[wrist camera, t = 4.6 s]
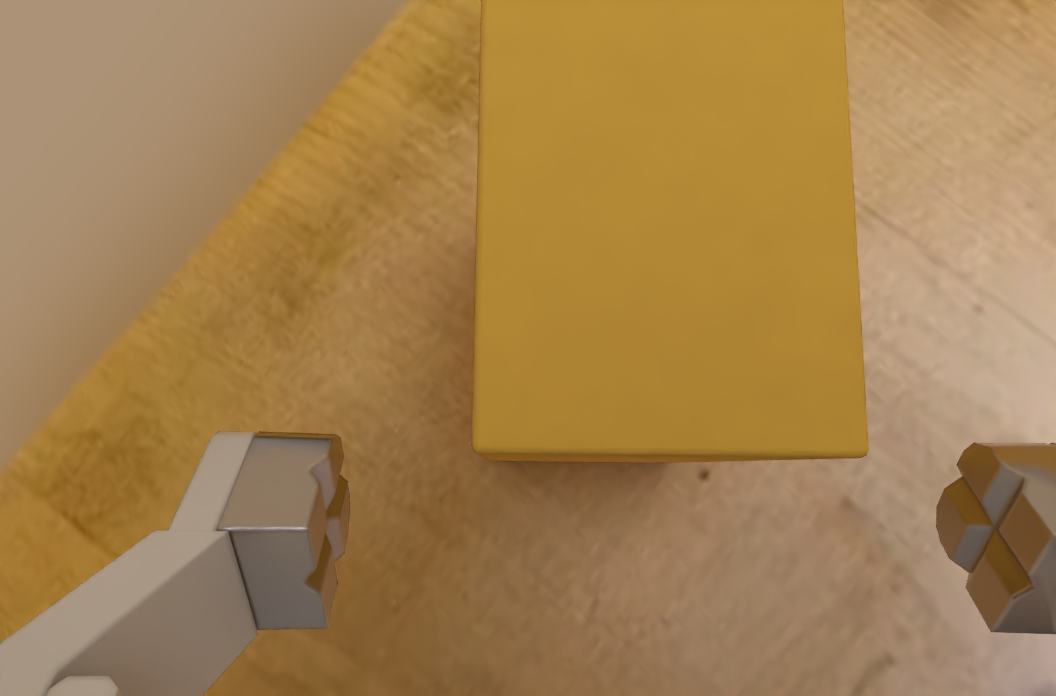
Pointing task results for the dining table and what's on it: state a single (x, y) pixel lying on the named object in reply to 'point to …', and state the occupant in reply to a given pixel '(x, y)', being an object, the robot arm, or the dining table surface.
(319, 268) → the dining table surface
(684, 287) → the yellow rectangular block
